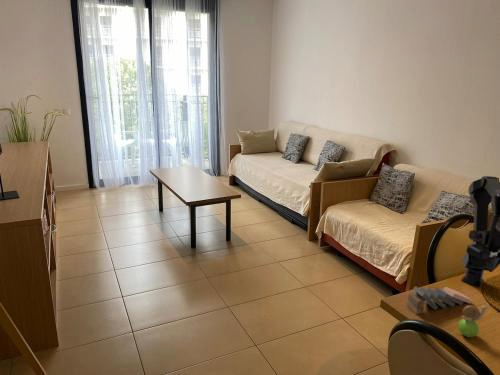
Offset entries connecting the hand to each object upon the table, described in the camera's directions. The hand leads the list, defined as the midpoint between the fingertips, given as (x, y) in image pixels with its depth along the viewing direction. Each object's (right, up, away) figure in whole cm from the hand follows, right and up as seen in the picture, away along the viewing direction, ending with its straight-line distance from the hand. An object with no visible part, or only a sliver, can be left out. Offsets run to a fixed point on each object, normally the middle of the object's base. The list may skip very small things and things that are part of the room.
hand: (489, 271), depth 130 cm
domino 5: (-6, -11, +4) cm, 13 cm away
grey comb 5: (-20, -12, 0) cm, 23 cm away
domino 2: (-16, -11, +1) cm, 20 cm away
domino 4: (-9, -11, +3) cm, 15 cm away
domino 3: (-13, -11, +2) cm, 17 cm away
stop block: (-27, -13, -2) cm, 29 cm away
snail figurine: (-15, -17, -14) cm, 26 cm away
